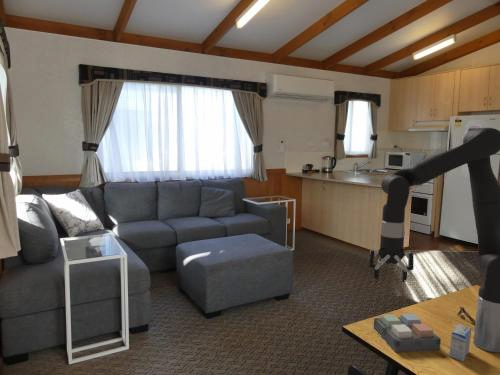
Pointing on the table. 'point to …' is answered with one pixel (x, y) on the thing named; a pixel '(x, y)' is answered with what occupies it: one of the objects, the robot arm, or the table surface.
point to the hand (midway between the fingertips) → (389, 280)
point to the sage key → (390, 320)
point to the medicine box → (460, 342)
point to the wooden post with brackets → (465, 314)
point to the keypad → (406, 339)
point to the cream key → (401, 331)
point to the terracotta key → (422, 330)
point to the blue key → (409, 319)
